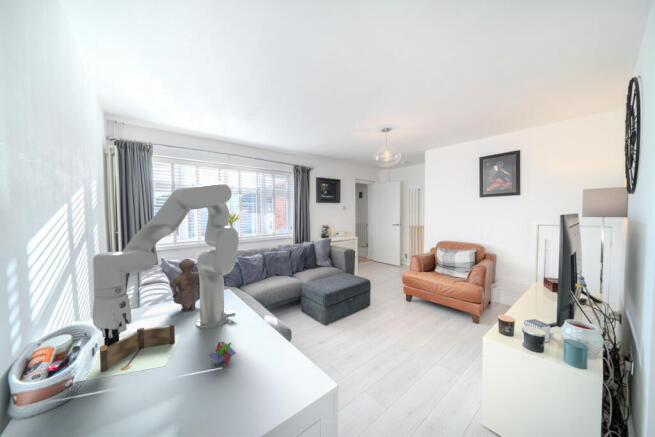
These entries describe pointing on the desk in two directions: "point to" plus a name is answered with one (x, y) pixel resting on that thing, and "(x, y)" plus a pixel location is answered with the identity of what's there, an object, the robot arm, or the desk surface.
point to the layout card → (136, 361)
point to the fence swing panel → (118, 351)
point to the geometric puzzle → (222, 353)
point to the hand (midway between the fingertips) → (112, 347)
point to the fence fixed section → (156, 336)
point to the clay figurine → (186, 286)
